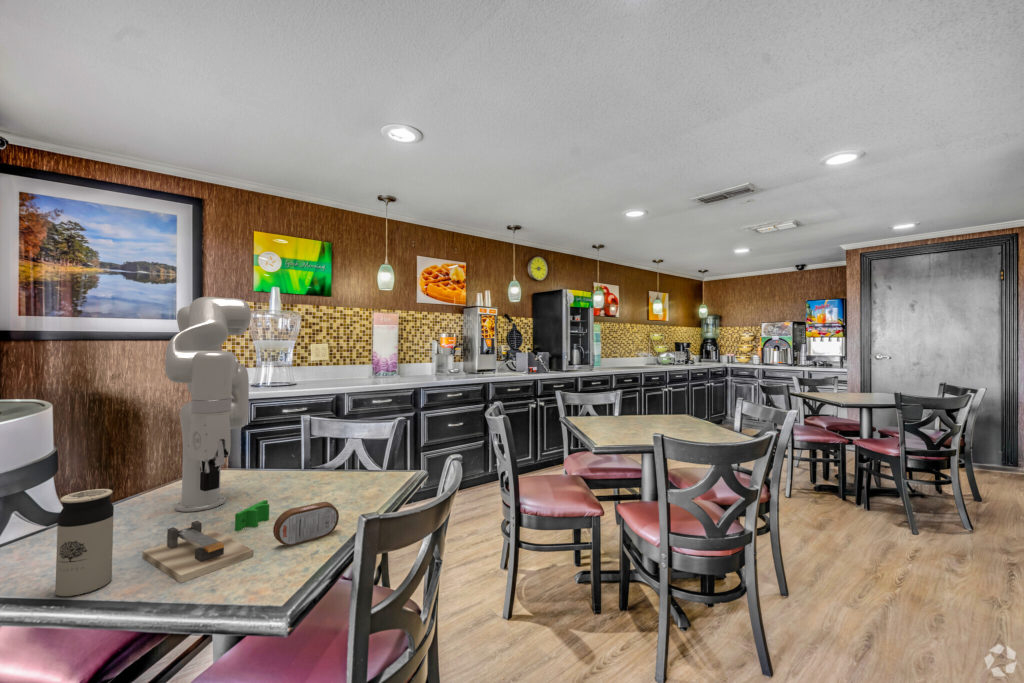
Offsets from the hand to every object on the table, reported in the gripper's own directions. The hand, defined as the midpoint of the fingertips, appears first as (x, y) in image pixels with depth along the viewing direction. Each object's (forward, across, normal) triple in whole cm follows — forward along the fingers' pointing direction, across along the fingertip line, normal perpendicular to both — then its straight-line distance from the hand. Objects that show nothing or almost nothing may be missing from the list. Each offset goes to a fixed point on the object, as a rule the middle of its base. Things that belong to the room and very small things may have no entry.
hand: (209, 489), depth 100 cm
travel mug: (+16, -7, -19) cm, 25 cm away
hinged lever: (+12, -3, -1) cm, 12 cm away
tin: (+16, +9, +18) cm, 26 cm away
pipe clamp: (+16, -13, +17) cm, 27 cm away
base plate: (+15, -3, -1) cm, 16 cm away
